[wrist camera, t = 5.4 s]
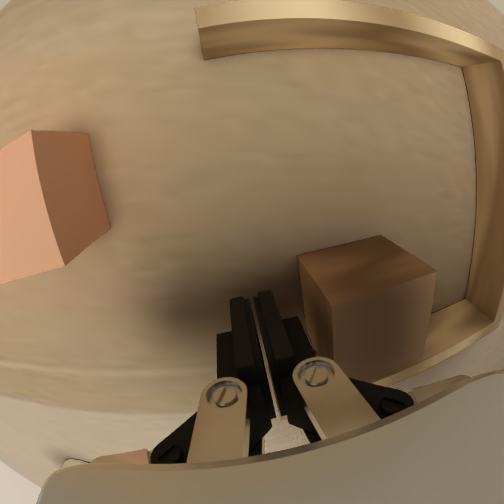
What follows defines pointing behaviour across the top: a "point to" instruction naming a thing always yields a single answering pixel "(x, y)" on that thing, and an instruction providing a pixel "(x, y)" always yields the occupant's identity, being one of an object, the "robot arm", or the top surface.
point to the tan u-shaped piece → (415, 44)
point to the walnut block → (367, 305)
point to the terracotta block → (47, 202)
